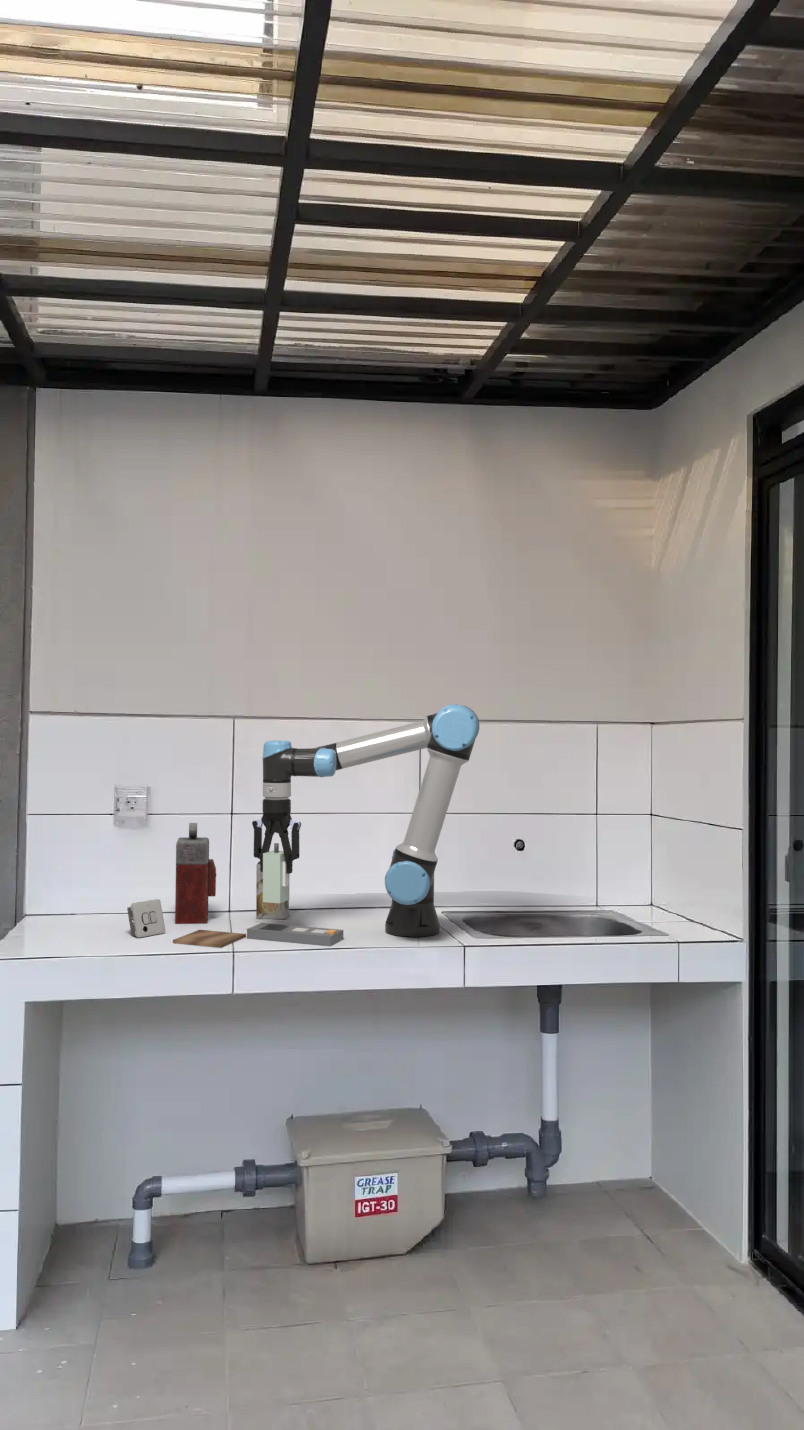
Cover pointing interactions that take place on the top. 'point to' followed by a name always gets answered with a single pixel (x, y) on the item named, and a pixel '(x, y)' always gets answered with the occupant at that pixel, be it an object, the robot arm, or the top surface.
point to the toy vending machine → (193, 878)
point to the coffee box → (265, 908)
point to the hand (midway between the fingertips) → (276, 884)
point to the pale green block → (274, 877)
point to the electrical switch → (146, 918)
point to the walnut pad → (209, 938)
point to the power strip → (295, 934)
